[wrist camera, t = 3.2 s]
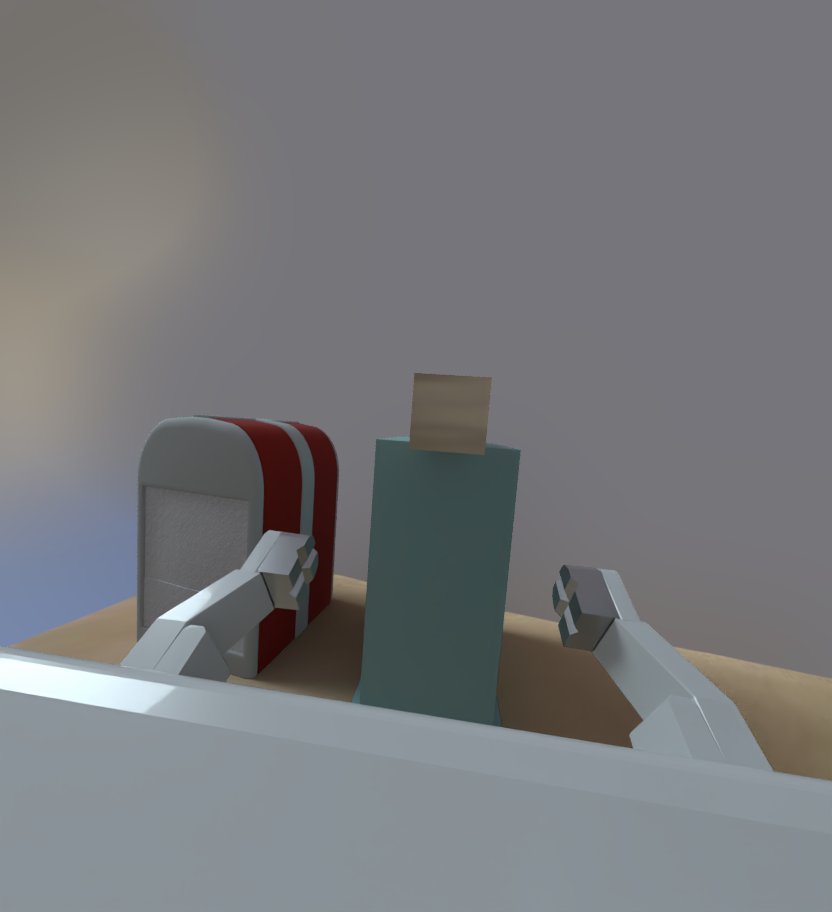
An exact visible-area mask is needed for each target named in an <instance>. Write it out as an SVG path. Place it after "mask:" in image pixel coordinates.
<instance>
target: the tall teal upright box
mask: <svg viewBox="0 0 832 912" xmlns="http://www.w3.org/2000/svg"><path fill="white" fill-rule="evenodd" d="M409 442H410V437H409V436H401V437H391V438H383V439H376V453H375V469H374V484H373V500H372V515H371V530H370V547H369V563H368V577H367V578H368V579H367V593H366V608H365V624H364V640H363V655H362V671H361V677H360V679H359V682H358V685H357V688H356V691H355V693H354V696H353V699H352V702H351V703H356V704H362V705H368V706H375V707H381V708H387V709H393V710H399V711H405V712H411V713H418V714H424V715H430V716H436V717H442V718H448V719H455V720H461V721H467V722H473V723H479V724H485V725H492V726H498V727H502V723H501V717H500V712H499V706H498V701H497V695H496V691H497V681H498V671H499V661H500V651H501V641H502V631H503V621H504V611H505V601H506V591H507V581H508V570H509V561H510V551H511V541H512V531H513V521H514V511H515V501H516V491H517V480H518V471H519V460H520V450H517V449H514V448H510V447H506V446H502V445H498V444H494V443H486V445H485V455H479V454H466V453H454V452H441V451H429V450H416V449H409Z"/></svg>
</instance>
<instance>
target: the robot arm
mask: <svg viewBox="0 0 832 912" xmlns="http://www.w3.org/2000/svg"><path fill="white" fill-rule="evenodd" d="M314 545H315V540H314V536H309V535H302V534H295V533H288V532H280V531H273V530H269V531H267V532H266V533H265V534H264V535H263V537H262V538H261V540H260V541H259V543H258V544H257V546H256V547H255V548H254V550H253V551H252V553H251V554H250V556H249V557H248V559H247V560H246V562H245V563H244V565H243V566H242V568H241V569H240V570H234V571H232V572H231V573H229V574H228V575H226V576H224V577H223V578H221V579H219V580H218V581H216V582H215V583H213V584H211V585H210V586H208V587H207V588H205V589H203V590H202V591H200V592H199V593H197V594H195V595H194V596H192V597H191V598H189V599H187V600H186V601H184V602H182V603H181V604H179V605H178V606H176V607H174V608H173V609H171V610H170V611H168V612H166V613H165V614H163V615H162V616H160V617H158V618H157V619H156V620H155V622H154V623H153V624H152V625H151V626H150V628H149V629H148V630H147V631H146V633H145V634H144V635H143V636H142V638H141V639H140V640H139V641H138V643H137V644H136V645H135V646H134V647H133V649H132V650H131V651H130V652H129V654H128V655H127V656H126V657H125V659H124V660H123V661H122V662H121V663H120V665H115V664H109V663H103V662H97V661H90V660H84V659H78V658H72V657H65V656H59V655H53V654H47V653H41V652H34V651H28V650H22V649H17V648H11V647H5V646H0V912H832V781H830V780H824V779H818V778H812V777H806V776H799V775H793V774H787V773H781V772H775V771H773V770H772V768H771V766H770V764H769V763H768V761H767V759H766V757H765V756H764V754H763V752H762V750H761V749H760V747H759V745H758V743H757V742H756V740H755V738H754V736H753V735H752V733H751V731H750V729H749V728H748V726H747V724H746V722H745V721H744V719H743V717H742V716H741V714H740V712H739V710H738V709H737V707H736V705H735V703H734V702H732V701H731V700H730V699H729V698H728V697H727V696H726V695H725V694H724V693H723V692H722V691H720V690H719V689H718V688H717V687H716V686H715V685H714V684H713V683H712V682H711V681H710V680H708V679H707V678H706V677H705V676H704V675H703V674H702V673H701V672H700V671H699V670H697V669H696V668H695V667H694V666H693V665H692V664H691V663H690V662H689V661H688V660H687V659H685V658H684V657H683V656H682V655H681V654H680V653H679V652H678V651H677V650H676V649H675V648H673V647H672V646H671V645H670V644H669V643H668V642H667V641H666V640H665V639H664V638H662V637H661V636H660V635H659V634H658V633H657V632H656V631H655V630H654V629H653V628H652V627H650V626H649V625H648V624H647V623H646V622H641V621H640V619H639V617H638V615H637V613H636V610H635V608H634V606H633V604H632V602H631V600H630V597H629V595H628V593H627V591H626V589H625V587H624V584H623V582H622V580H621V578H620V576H619V574H618V573H617V572H616V571H614V570H604V569H597V568H590V567H580V566H570V565H564V566H563V567H562V568H561V570H560V576H561V578H560V579H558V580H556V581H555V584H554V587H553V595H552V597H553V605H554V609H555V612H556V613H557V614H558V615H559V616H560V617H561V620H560V622H559V624H558V626H559V630H560V634H561V639H562V643H563V647H568V648H574V649H580V650H586V651H592V652H593V654H594V656H595V657H596V658H597V660H598V661H599V662H600V664H601V665H602V666H603V668H604V669H605V670H606V671H607V673H608V674H609V675H610V677H611V678H612V679H613V681H614V682H615V683H616V685H617V686H618V687H619V689H620V690H621V691H622V693H623V694H624V695H625V697H626V698H627V699H628V700H629V702H630V703H631V704H632V706H633V707H634V708H635V710H636V711H637V712H638V714H639V715H640V716H641V718H642V719H643V721H642V722H641V723H640V724H639V725H638V726H637V727H636V728H634V729H633V730H632V732H631V733H630V734H629V736H630V739H631V743H632V746H633V748H627V747H621V746H615V745H609V744H602V743H596V742H590V741H584V740H578V739H572V738H565V737H559V736H553V735H547V734H541V733H535V732H528V731H522V730H516V729H510V728H504V727H498V726H492V725H485V724H479V723H473V722H467V721H461V720H455V719H448V718H442V717H436V716H430V715H424V714H418V713H411V712H405V711H399V710H393V709H387V708H381V707H375V706H368V705H362V704H356V703H350V702H344V701H338V700H331V699H325V698H319V697H313V696H307V695H300V694H294V693H288V692H282V691H276V690H270V689H263V688H257V687H251V686H245V685H239V684H233V683H226V681H227V679H228V677H229V675H230V673H231V670H230V667H229V665H228V663H227V662H226V660H225V659H224V657H223V656H222V655H223V654H225V653H226V652H227V651H228V650H229V649H230V648H231V647H232V646H233V645H235V644H236V643H237V642H238V641H239V640H240V639H241V638H242V637H244V636H245V635H246V634H247V633H248V632H249V631H250V630H251V629H252V628H254V627H255V626H256V625H257V624H258V623H259V622H260V621H261V620H263V619H264V618H265V617H266V616H267V615H268V614H269V613H270V612H271V611H273V610H274V607H275V608H284V609H293V610H300V608H301V605H302V603H303V601H304V599H305V597H306V594H307V592H308V591H307V587H306V585H307V584H308V583H309V582H311V581H312V580H313V579H314V576H315V574H316V571H317V566H318V553H317V551H316V550H315V549H314V548H313V547H314Z"/></svg>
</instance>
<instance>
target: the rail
mask: <svg viewBox="0 0 832 912" xmlns="http://www.w3.org/2000/svg"><path fill="white" fill-rule="evenodd" d="M491 379H492V378H489V377H488V378H487V377H471V376H454V375H436V374H420V373H414V387H413V388H414V389H413V401H412V414H411V428H410V442H409V449H416V450H429V451H441V452H454V453H466V454H479V455H485V445H486V434H487V422H488V412H489V401H490V390H491Z"/></svg>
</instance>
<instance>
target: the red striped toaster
mask: <svg viewBox="0 0 832 912" xmlns="http://www.w3.org/2000/svg"><path fill="white" fill-rule="evenodd" d="M338 482H339V466H338V458H337V453H336V450H335V447H334V445H333V443H332V441H331V440H330V438H329V436H328V435H327V434H326V433H325V432H324V431H323V430H321V429H319V428H317V427H313V426H308V425H304V424H299V422H297V421H283V420H269V419H257V418H240V417H227V416H210V415H196V414H194V415H193V417H182V418H170V419H166V420H163V421H161V422H160V423H159V424H157V425H156V426H155V427H154V428H153V430H152V431H151V432H150V434H149V435H148V437H147V439H146V441H145V443H144V445H143V448H142V452H141V456H140V461H139V468H138V525H137V527H138V528H137V529H138V530H137V531H138V533H137V538H138V539H137V643H138V641H139V640H140V639H141V638H142V636H143V635H144V634H145V633H146V631H147V630H148V629H149V628H150V626H151V625H152V624H153V623H154V622H155V620H156V619H157V618H158V617H160V616H162V615H163V614H165V613H166V612H168V611H170V610H171V609H173V608H174V607H176V606H178V605H179V604H181V603H182V602H184V601H186V600H187V599H189V598H191V597H192V596H194V595H195V594H197V593H199V592H200V591H202V590H203V589H205V588H207V587H208V586H210V585H211V584H213V583H215V582H216V581H218V580H219V579H221V578H223V577H224V576H226V575H228V574H229V573H231V572H232V571H234V570H240V569H241V568H242V566H243V565H244V563H245V562H246V560H247V559H248V557H249V556H250V554H251V553H252V551H253V550H254V548H255V547H256V546H257V544H258V543H259V541H260V540H261V538H262V537H263V535H264V534H265V533H266V532H267V531H269V530H273V531H280V532H288V533H295V534H302V535H309V536H314V540H315V545H314V547H313V548H314V549H315V550H316V551H317V553H318V566H317V571H316V574H315V576H314V579H313V580H312V581H311V582H309V583H308V584H307V585H306V587H307V591H308V592H307V594H306V597H305V599H304V601H303V603H302V605H301V608H300V610H293V609H284V608H275V607H274V610H273V611H271V612H270V613H269V614H268V615H267V616H266V617H265V618H264V619H263V620H261V621H260V622H259V623H258V624H257V625H256V626H255V627H254V628H252V629H251V630H250V631H249V632H248V633H247V634H246V635H245V636H244V637H242V638H241V639H240V640H239V641H238V642H237V643H236V644H235V645H233V646H232V647H231V648H230V649H229V650H228V651H227V652H226V653H225V654H223V655H222V656H223V657H224V659H225V660H226V662H227V663H228V665H229V667H230V670H231V673H230V674H232V675H235V676H238V677H242V678H245V679H250V678H253V677H255V676H257V673H260V672H261V671H262V670H263V669H264V668H265V667H266V666H267V665H268V664H269V663H270V662H271V661H272V660H273V659H274V658H275V657H276V656H277V655H278V654H279V653H280V652H281V651H282V650H283V649H284V648H285V647H286V646H287V645H288V644H289V643H290V642H291V641H292V640H293V639H294V638H296V637H298V636H299V635H300V634H301V633H302V632H303V631H304V630H305V629H306V628H307V625H308V624H309V623H310V622H311V621H312V620H313V619H314V618H315V617H316V616H317V615H318V614H319V613H320V612H321V611H322V610H323V609H324V608H325V607H326V606H327V605H328V604H329V603H330V602H331V601H332V591H333V572H334V555H335V537H336V519H337V501H338Z"/></svg>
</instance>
